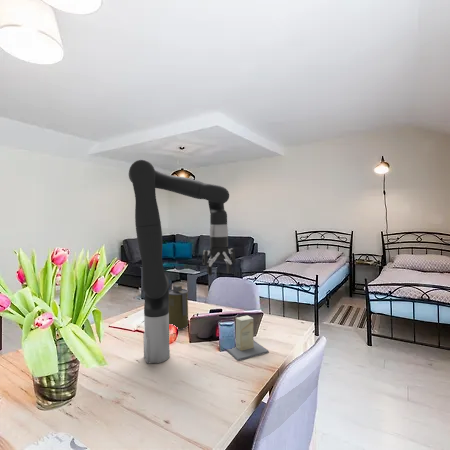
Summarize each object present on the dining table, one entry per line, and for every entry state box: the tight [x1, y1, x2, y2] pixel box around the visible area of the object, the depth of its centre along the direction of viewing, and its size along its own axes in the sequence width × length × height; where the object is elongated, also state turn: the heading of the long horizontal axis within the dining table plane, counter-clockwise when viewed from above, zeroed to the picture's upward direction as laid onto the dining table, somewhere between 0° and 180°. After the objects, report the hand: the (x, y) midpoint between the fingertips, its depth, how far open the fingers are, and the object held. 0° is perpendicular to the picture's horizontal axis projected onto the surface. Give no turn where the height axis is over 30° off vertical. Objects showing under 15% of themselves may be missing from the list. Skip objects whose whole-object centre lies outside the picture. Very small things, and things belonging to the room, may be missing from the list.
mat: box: [226, 339, 270, 362], centre depth 118 cm, size 14×14×1 cm
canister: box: [169, 284, 189, 330], centre depth 143 cm, size 11×10×20 cm
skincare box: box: [235, 315, 255, 351], centre depth 118 cm, size 6×4×12 cm
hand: (219, 274), depth 121 cm, fingers open, 8 cm apart
